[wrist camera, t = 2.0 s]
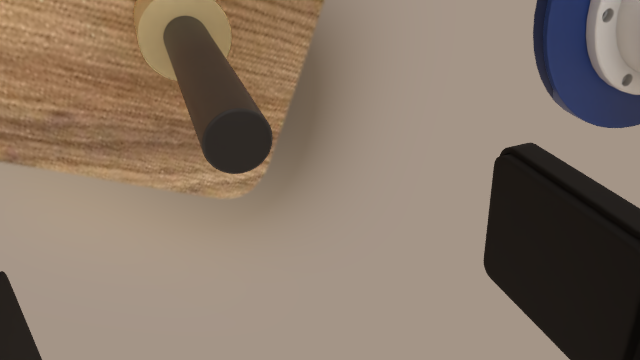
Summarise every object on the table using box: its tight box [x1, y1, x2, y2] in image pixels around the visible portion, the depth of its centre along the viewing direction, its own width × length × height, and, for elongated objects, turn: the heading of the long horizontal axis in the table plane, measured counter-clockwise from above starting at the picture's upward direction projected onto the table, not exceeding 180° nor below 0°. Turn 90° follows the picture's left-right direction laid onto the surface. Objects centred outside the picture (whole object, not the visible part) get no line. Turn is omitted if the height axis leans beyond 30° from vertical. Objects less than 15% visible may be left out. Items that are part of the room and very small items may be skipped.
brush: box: [133, 0, 272, 174], centre depth 22 cm, size 4×4×16 cm
